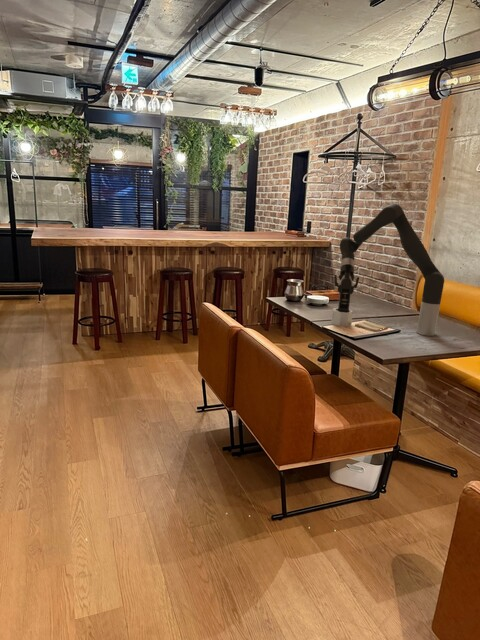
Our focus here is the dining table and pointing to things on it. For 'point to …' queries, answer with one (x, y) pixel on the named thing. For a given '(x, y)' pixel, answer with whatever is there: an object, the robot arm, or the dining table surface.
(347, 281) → the wine bottle
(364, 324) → the oak board
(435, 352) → the dining table surface
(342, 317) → the wooden sleeve
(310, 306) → the dining table surface
